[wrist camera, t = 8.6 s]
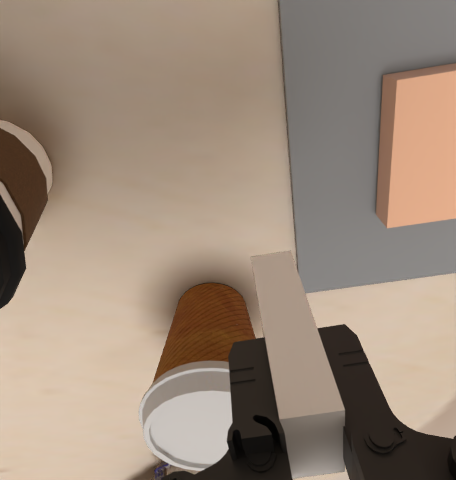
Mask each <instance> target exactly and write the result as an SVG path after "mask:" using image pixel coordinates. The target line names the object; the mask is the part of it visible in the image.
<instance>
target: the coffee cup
mask: <svg viewBox="0 0 456 480" xmlns="http://www.w3.org/2000/svg"><path fill="white" fill-rule="evenodd" d="M52 184H53V182H52V166H51V163H50V161H49V158H48V156H47V154H46V152H45V150H44V148H43V146H42V145H41V144H40V143H39V142H38V141H37V140H36V139H35V138H34V137H33V136H32V135H31V134H30V133H29V132H27V131H25V130H23V129H21V128H20V127H18V126H16V125H14V124H12V123H10V122H8V121H3V120H0V309H1V308H2V307H4V306H5V305H6V304H8V303H9V301H10V300H11V299H12V297H13V296H14V294H15V291H16V289H17V287H18V285H19V283H20V280H21V278H22V276H23V274H24V272H25V269H26V264H25V254H24V251H25V249H26V247H27V245H28V242H29V240H30V238H31V236H32V234H33V232H34V230H35V227H36V225H37V223H38V221H39V219H40V217H41V214H42V212H43V210H44V207H45V205H46V203H47V201H48V193H49V190H50V188H51V186H52Z"/></svg>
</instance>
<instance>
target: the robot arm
mask: <svg viewBox="0 0 456 480" xmlns="http://www.w3.org/2000/svg"><path fill="white" fill-rule="evenodd" d="M251 261H252V268H253V274H254V280H255V287H256V293H257V299H258V306H259V312H260V318H261V323H262V329H263V335H264V338H258V339H251V340H245V341H238V342H234V343H233V345H232V348H231V350H230V353H229V355H228V361H229V377H230V392H231V407H232V424H231V426H230V428H229V429H228V435H227V444H228V448H229V449H228V451H227V452H226V454H225V455H224V456H223V457H222V458H221V459H220V460H219V461H218V462H216V463H215V464H213V465H212V466H210V467H208V468H206V469H204V470H202V471H200V472H198V473H196V474H193V473H190V472H187V471H175V472H172V473H170V474H168V475H166V476H164V477H163V478H162V479H161V480H293V479H294V478H302V477H309V476H316V475H324V474H331V473H338V472H345V466H346V469H347V473H348V476H349V479H350V480H456V436H455V437H454V439H451V438H445V437H439V436H433V435H428V434H424V433H420V432H417V431H415V430H413V429H411V428H409V427H407V426H406V425H404V424H403V423H402V422H400V421H399V420H398V419H397V418H396V416H395V415H394V414H393V413H392V411H391V409H390V408H389V405H388V403H387V401H386V399H385V397H384V394H383V392H382V390H381V388H380V386H379V383H378V381H377V379H376V377H375V374H374V372H373V370H372V368H371V366H370V364H369V361H368V359H367V357H366V355H365V352H364V351H363V348H362V346H361V343H360V341H359V339H358V337H357V335H356V334H355V333H354V332H353V331H351V330H350V329H349V328H348V327H347V326H346V325H345V324H343V325H337V326H330V327H323V328H317V326H316V323H315V320H314V318H313V315H312V312H311V309H310V306H309V303H308V300H307V297H306V294H305V291H304V288H303V285H302V282H301V279H300V276H299V274H298V271H297V268H296V265H295V262H294V259H293V256H292V253H291V250H290V251H284V252H277V253H271V254H265V255H259V256H253V257H251Z"/></svg>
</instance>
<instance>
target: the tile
mask: <svg viewBox="0 0 456 480" xmlns="http://www.w3.org/2000/svg"><path fill="white" fill-rule="evenodd" d="M376 215H377V217H378V218H379V219H380V220H381V222H382V223H383V224H384V225H385V227H386V228H393V227H400V226H407V225H414V224H421V223H427V222H434V221H441V220H448V219H455V218H456V63H453V64H447V65H441V66H435V67H429V68H423V69H417V70H410V71H404V72H398V73H392V74H386V75H383V84H382V104H381V123H380V143H379V163H378V182H377V202H376Z"/></svg>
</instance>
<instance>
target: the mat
mask: <svg viewBox="0 0 456 480" xmlns="http://www.w3.org/2000/svg"><path fill="white" fill-rule="evenodd" d="M278 5H279V19H280V33H281V47H282V61H283V74H284V88H285V102H286V116H287V130H288V144H289V158H290V172H291V186H292V200H293V214H294V228H295V242H296V256H297V269H298V274H299V276H300V279H301V282H302V285H303V288H304V291H305V293H312V292H319V291H326V290H334V289H341V288H348V287H356V286H363V285H370V284H378V283H385V282H393V281H400V280H407V279H415V278H422V277H429V276H437V275H444V274H451V273H456V218H455V219H448V220H441V221H434V222H427V223H421V224H414V225H407V226H400V227H393V228H386V227H385V225H384V224H383V223H382V222H381V220H380V219H379V218H378V217H377V215H376V202H377V182H378V163H379V143H380V123H381V104H382V84H383V75H386V74H392V73H398V72H404V71H410V70H417V69H423V68H429V67H435V66H441V65H447V64H453V63H456V0H278Z"/></svg>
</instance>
